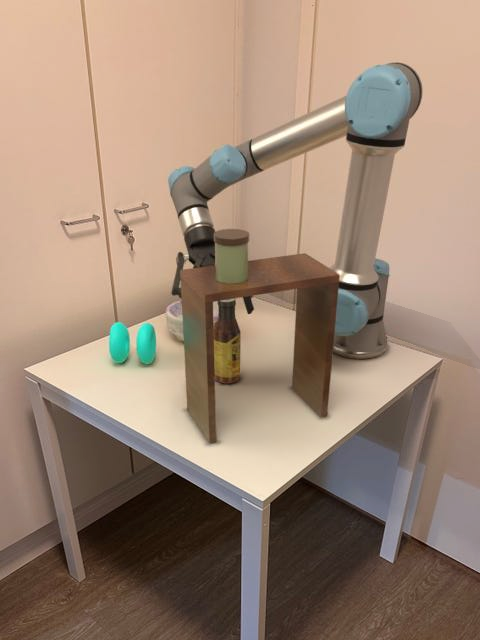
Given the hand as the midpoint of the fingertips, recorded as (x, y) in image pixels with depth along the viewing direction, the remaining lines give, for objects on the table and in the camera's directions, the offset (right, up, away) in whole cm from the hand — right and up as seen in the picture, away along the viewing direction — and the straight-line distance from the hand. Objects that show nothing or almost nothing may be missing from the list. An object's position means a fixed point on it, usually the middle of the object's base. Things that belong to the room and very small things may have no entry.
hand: (223, 316), depth 144 cm
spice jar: (+2, +2, -27) cm, 27 cm away
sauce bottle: (+1, -14, +6) cm, 15 cm away
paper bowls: (-8, -1, +26) cm, 27 cm away
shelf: (+7, -22, -7) cm, 24 cm away
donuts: (-23, -9, +14) cm, 28 cm away
